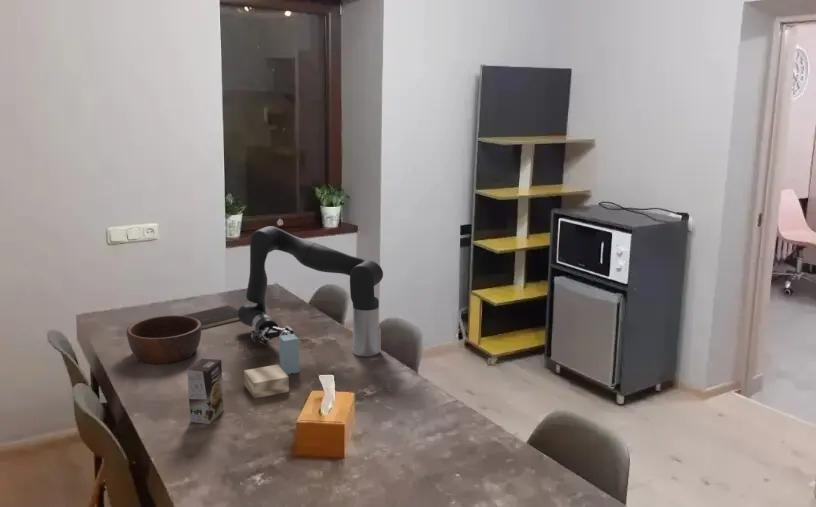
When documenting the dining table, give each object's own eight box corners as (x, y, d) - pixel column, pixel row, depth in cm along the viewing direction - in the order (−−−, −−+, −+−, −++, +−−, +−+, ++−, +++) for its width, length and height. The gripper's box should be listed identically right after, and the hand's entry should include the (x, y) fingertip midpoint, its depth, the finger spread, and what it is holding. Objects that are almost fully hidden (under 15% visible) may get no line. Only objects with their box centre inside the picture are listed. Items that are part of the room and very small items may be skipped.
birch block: (277, 378, 231) (277, 364, 230) (288, 391, 221) (288, 376, 220) (244, 384, 226) (244, 370, 225) (254, 398, 216) (253, 383, 215)
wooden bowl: (201, 338, 266) (199, 312, 264) (204, 363, 243) (203, 334, 240) (130, 344, 258) (128, 318, 256) (126, 371, 235) (124, 342, 233)
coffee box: (210, 424, 199) (207, 371, 196) (189, 422, 201) (186, 369, 197) (224, 410, 208) (222, 359, 204) (204, 408, 209) (201, 357, 206)
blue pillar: (294, 367, 240) (293, 333, 238) (299, 372, 236) (298, 338, 233) (280, 369, 238) (279, 336, 235) (284, 374, 234) (283, 340, 231)
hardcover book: (247, 319, 289) (247, 314, 288) (195, 332, 274) (194, 326, 273) (227, 310, 300) (227, 304, 300) (176, 321, 285) (176, 316, 284)
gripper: (245, 319, 255) (258, 333, 241) (283, 314, 261) (298, 327, 247) (246, 339, 256) (259, 354, 242) (283, 333, 263) (298, 347, 249)
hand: (278, 340), depth 245 cm, fingers open, 8 cm apart
